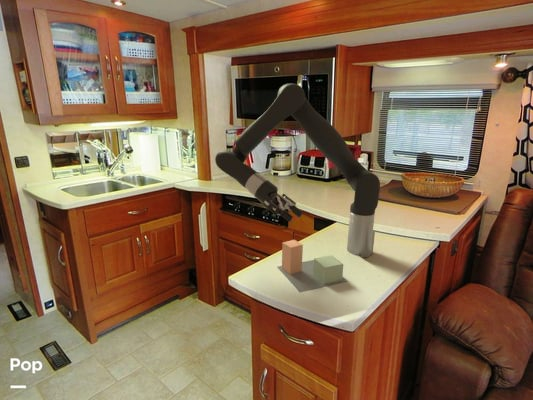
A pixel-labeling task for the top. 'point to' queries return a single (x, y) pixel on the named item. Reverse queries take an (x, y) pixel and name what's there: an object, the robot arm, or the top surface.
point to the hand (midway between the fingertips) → (296, 217)
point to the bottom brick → (328, 269)
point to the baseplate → (307, 278)
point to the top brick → (292, 256)
